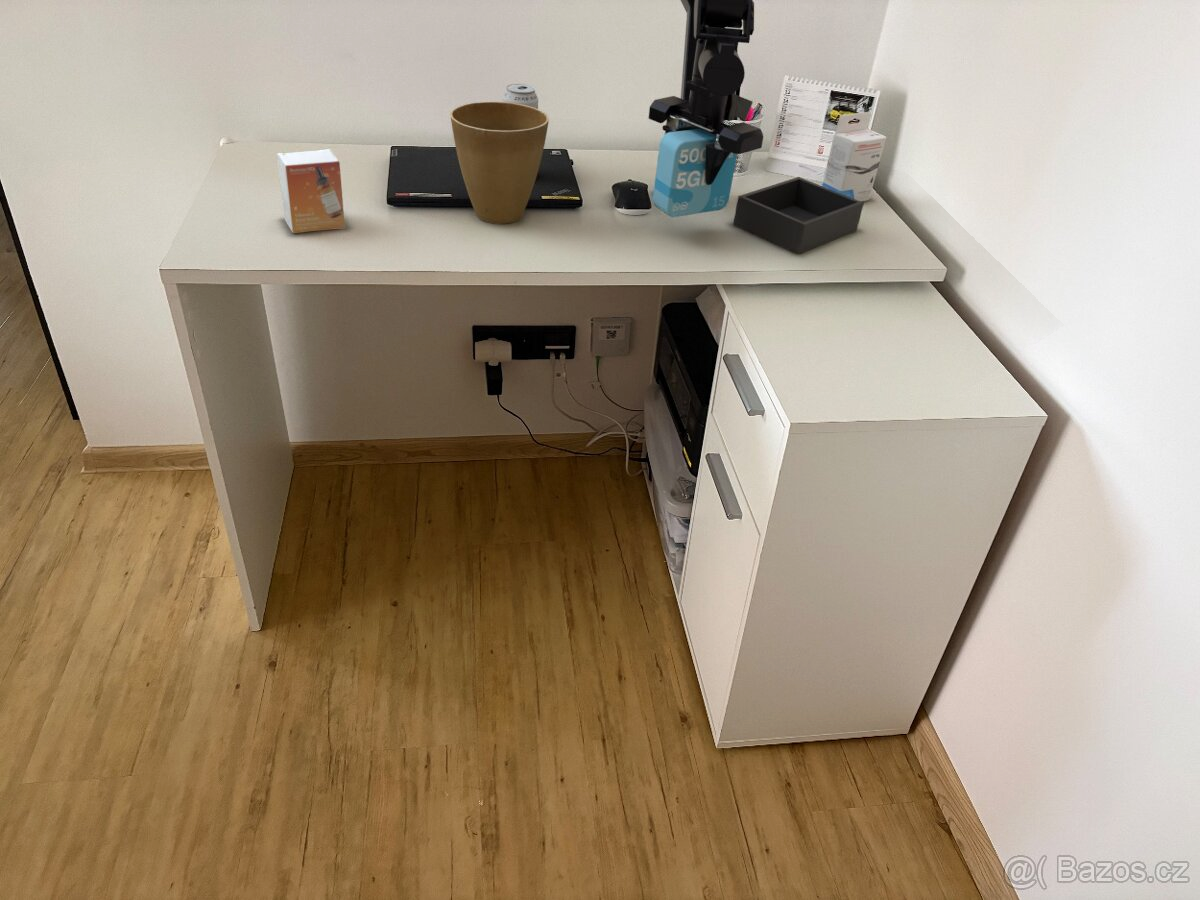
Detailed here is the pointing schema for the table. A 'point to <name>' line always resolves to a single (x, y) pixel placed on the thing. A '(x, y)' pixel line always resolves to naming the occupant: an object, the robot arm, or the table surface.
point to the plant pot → (499, 156)
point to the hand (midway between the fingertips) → (696, 178)
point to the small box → (311, 190)
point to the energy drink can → (521, 95)
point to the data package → (689, 175)
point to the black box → (797, 214)
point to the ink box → (854, 157)
